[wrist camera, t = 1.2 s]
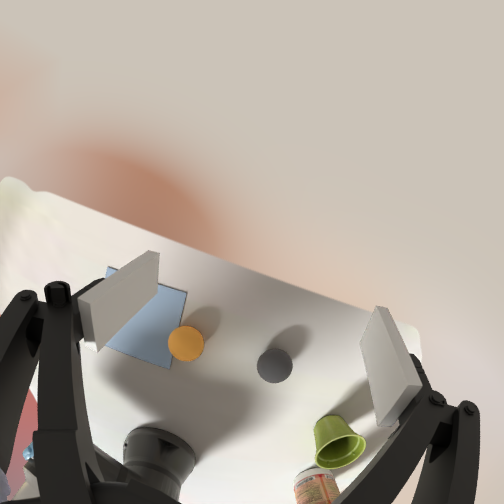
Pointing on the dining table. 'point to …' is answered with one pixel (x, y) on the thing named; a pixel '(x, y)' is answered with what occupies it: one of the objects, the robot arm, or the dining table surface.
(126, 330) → the mark
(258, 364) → the ball
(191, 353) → the ball
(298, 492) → the fruit juice
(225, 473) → the dining table surface
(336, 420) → the plant pot
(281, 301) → the dining table surface
